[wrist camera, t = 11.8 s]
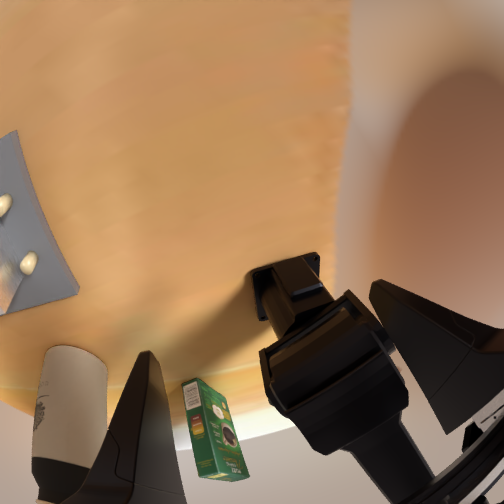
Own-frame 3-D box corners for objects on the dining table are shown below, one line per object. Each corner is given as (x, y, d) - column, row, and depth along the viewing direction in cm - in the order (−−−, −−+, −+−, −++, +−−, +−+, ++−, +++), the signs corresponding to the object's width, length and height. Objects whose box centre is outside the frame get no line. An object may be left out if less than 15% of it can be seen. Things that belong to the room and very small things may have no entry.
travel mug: (121, 370, 26) (135, 521, 12) (82, 388, 26) (86, 516, 12) (69, 333, 22) (57, 509, 7) (35, 356, 22) (21, 498, 7)
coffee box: (177, 382, 30) (197, 479, 19) (197, 375, 30) (221, 474, 20) (209, 403, 35) (231, 482, 24) (226, 396, 35) (252, 477, 24)
